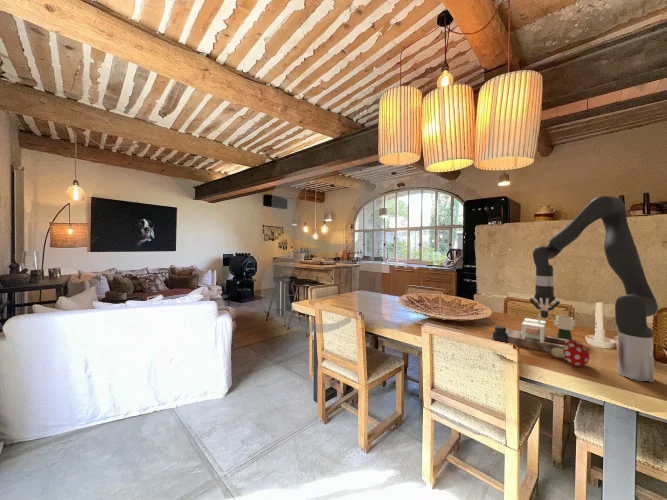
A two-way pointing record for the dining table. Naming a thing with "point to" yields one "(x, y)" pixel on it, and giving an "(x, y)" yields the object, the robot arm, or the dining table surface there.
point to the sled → (532, 334)
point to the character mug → (564, 326)
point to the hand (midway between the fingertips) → (544, 317)
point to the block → (532, 330)
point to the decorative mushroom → (572, 353)
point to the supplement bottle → (500, 334)
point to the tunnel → (534, 324)
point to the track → (535, 341)
